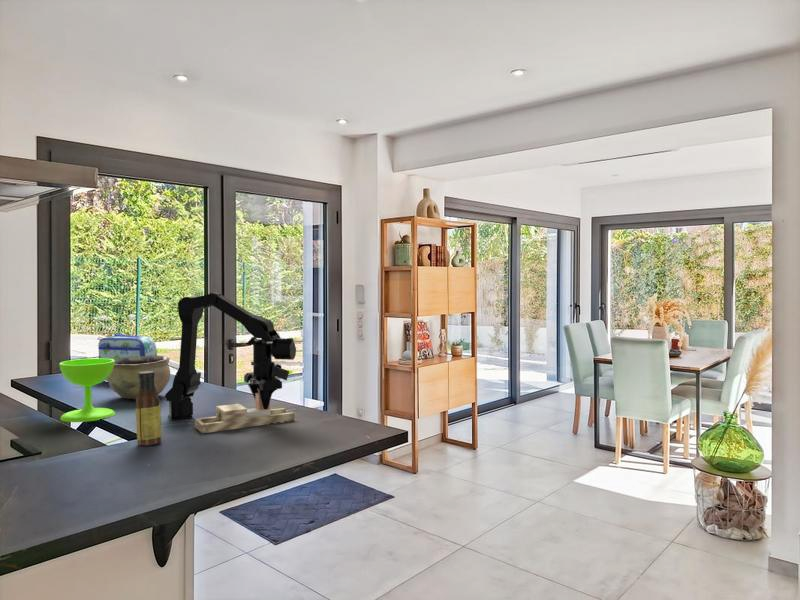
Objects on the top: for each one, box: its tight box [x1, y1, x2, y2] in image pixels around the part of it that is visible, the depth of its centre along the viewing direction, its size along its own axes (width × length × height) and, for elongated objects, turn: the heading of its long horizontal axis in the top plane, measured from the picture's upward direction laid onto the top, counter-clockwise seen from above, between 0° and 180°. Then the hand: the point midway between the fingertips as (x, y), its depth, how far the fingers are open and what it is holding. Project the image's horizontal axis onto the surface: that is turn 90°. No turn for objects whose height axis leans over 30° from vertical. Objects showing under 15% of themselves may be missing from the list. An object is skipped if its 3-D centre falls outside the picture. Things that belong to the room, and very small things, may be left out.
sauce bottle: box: [135, 371, 163, 447], centre depth 157 cm, size 7×6×20 cm
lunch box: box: [97, 333, 158, 381], centre depth 249 cm, size 26×11×21 cm, turn 69°
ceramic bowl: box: [107, 354, 171, 400], centre depth 217 cm, size 22×22×15 cm
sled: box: [221, 393, 271, 421], centre depth 180 cm, size 14×4×8 cm, turn 123°
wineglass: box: [58, 357, 116, 423], centre depth 188 cm, size 16×16×18 cm
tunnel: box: [194, 403, 295, 434], centre depth 180 cm, size 29×8×6 cm, turn 123°
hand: (262, 407), depth 183 cm, fingers open, 5 cm apart
